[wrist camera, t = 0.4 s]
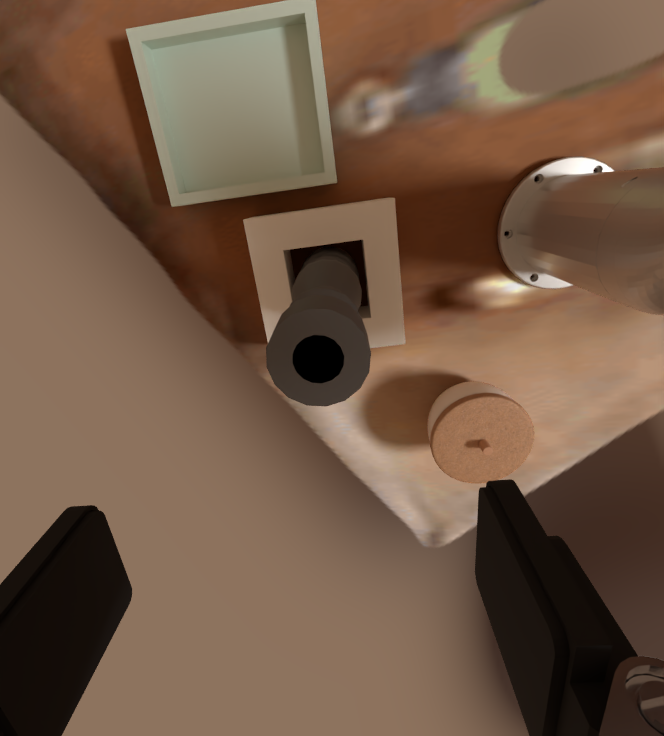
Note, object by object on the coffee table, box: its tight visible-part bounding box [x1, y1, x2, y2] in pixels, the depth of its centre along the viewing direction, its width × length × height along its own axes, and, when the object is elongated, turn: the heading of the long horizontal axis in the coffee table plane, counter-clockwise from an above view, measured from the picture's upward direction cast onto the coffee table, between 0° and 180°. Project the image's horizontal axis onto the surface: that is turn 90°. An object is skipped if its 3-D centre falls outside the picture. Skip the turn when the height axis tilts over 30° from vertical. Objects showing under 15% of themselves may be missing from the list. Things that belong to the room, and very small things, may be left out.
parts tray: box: [126, 0, 337, 207], centre depth 39 cm, size 16×14×3 cm
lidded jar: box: [427, 381, 534, 483], centre depth 47 cm, size 11×11×9 cm
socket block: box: [243, 197, 405, 348], centre depth 44 cm, size 14×14×5 cm
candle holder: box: [266, 247, 371, 406], centre depth 34 cm, size 6×6×25 cm
